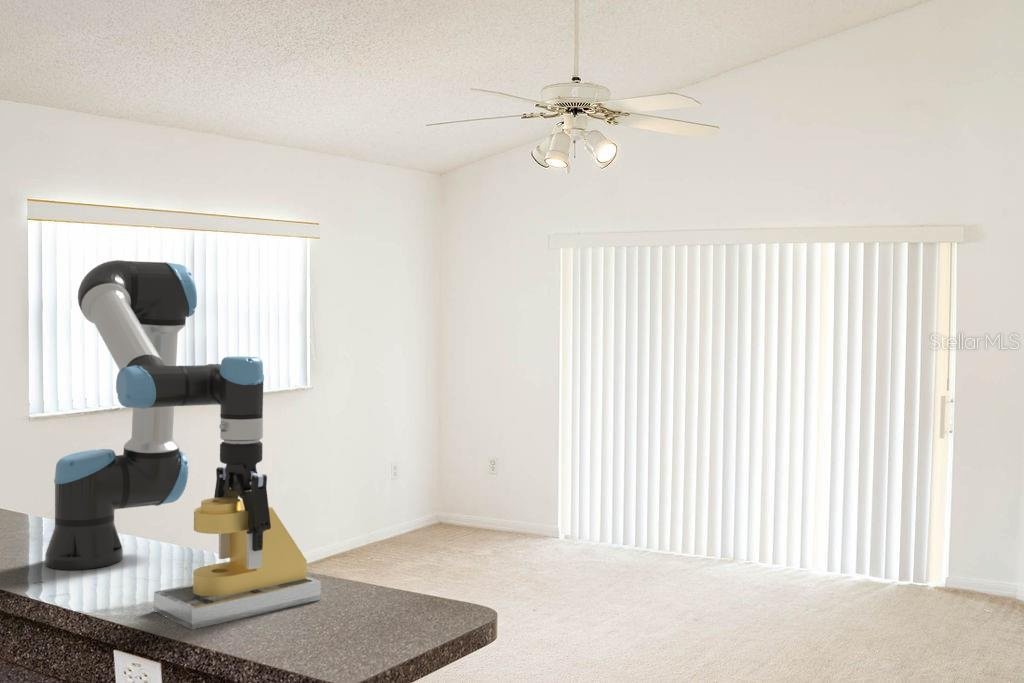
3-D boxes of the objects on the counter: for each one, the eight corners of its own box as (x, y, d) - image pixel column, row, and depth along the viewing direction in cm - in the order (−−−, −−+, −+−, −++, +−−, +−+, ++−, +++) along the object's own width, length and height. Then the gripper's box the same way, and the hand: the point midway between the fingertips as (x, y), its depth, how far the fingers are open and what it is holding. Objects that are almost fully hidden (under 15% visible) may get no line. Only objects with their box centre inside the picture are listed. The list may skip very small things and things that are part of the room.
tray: (153, 611, 172) (154, 591, 172) (280, 584, 191) (280, 566, 191) (191, 629, 162) (192, 609, 162) (320, 599, 181) (321, 581, 181)
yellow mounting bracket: (209, 599, 167) (210, 508, 167) (183, 588, 173) (184, 500, 173) (306, 578, 181) (307, 494, 181) (279, 569, 188) (280, 487, 187)
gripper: (193, 436, 181) (191, 555, 181) (255, 448, 165) (253, 578, 166) (229, 433, 186) (228, 548, 187) (292, 445, 171) (290, 570, 171)
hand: (240, 562), depth 176 cm, fingers closed on yellow mounting bracket, 9 cm apart
